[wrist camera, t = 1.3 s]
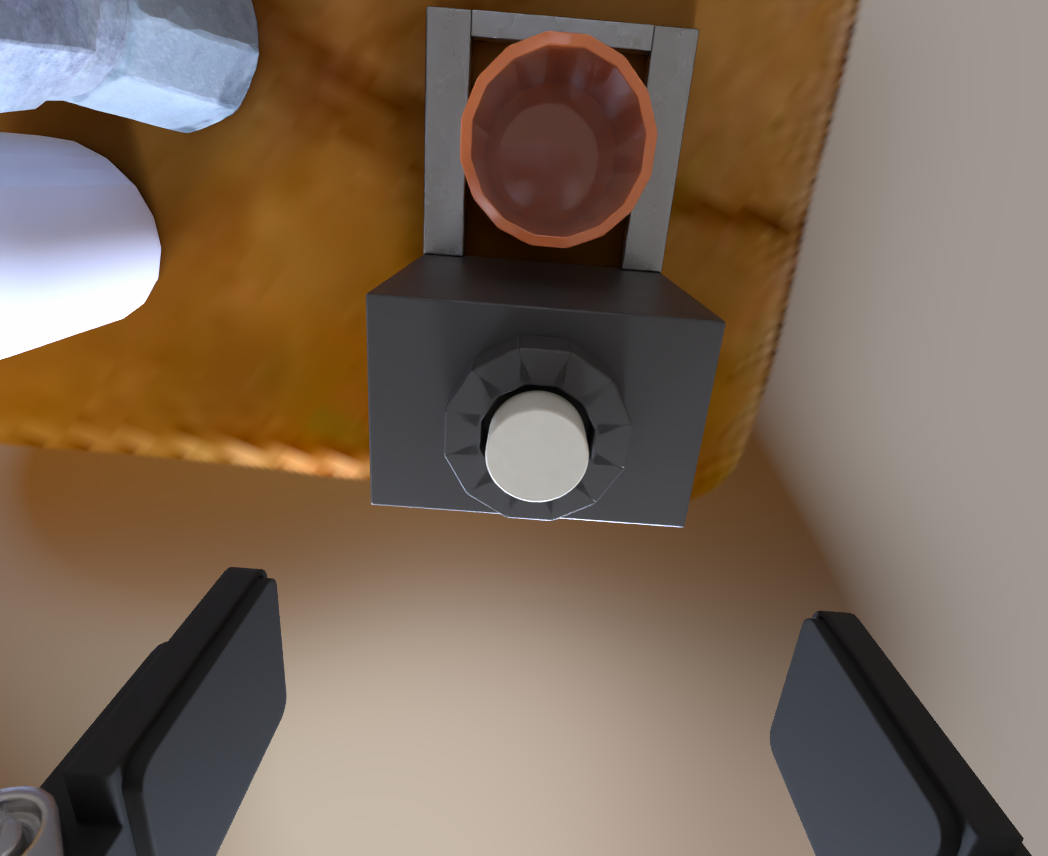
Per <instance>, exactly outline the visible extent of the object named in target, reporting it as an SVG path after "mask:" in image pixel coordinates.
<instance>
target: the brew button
mask: <svg viewBox="0 0 1048 856" xmlns="http://www.w3.org/2000/svg"><path fill="white" fill-rule="evenodd" d="M485 459H486V465H487V468H488V471H489V473H490V475H491V477H492V479H493V480H494V482H495V483H496V484H497V485H498V486H499V487H500V488H501V489H502V490H503V491H505V492H506V493H508V494H509V495H511V496H513V497H515V498H518V499H520V500H524V501H530V502H544V501H550V500H554V499H556V498H559V497H561V496H563V495H565V494H567V493H568V492H570V491H571V490H572V489H573V488H574V487H575V486H576V485H577V484H578V483H579V482H580V480H581V479H582V477H583V476H584V474H585V472H586V469H587V466H588V461H589V449H588V443H587V438H586V433H585V428H584V424H583V421H582V418H581V416H580V414H579V413H578V411H577V410H576V408H575V407H574V406H573V405H572V404H571V403H570V402H569V401H567V400H566V399H565V398H563V397H561V396H559V395H557V394H555V393H551V392H548V391H539V390H534V391H527V392H522V393H519V394H517V395H515V396H513V397H511V398H509V399H508V400H506V401H505V402H504V403H503V404H502V405H501V406H500V407H499V408H498V409H497V411H496V412H495V414H494V416H493V418H492V420H491V424H490V427H489V433H488V438H487V444H486V451H485Z"/></svg>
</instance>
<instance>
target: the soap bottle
mask: <svg viewBox="0 0 1048 856" xmlns="http://www.w3.org/2000/svg"><path fill="white" fill-rule="evenodd" d="M160 256H161V245H160V241H159V237H158V233H157V229H156V224H155V220H154V216H153V215H152V213H151V211H150V210H149V208H148V206H147V204H146V203H145V201H144V199H143V198H142V196H141V194H140V192H139V191H138V189H137V187H136V186H135V185H134V184H133V183H132V182H131V181H130V180H129V179H128V178H127V177H126V176H125V175H124V174H123V173H122V172H121V171H120V170H119V169H118V168H117V167H116V166H114V165H113V164H112V163H111V162H110V161H109V160H108V159H107V158H105V157H103V156H101V155H99V154H98V153H96V152H94V151H92V150H90V149H88V148H86V147H84V146H82V145H80V144H79V143H77V142H75V141H71V140H65V139H58V138H52V137H46V136H40V135H29V134H17V133H6V132H0V360H1V359H4V358H7V357H10V356H13V355H16V354H19V353H22V352H24V351H27V350H30V349H33V348H36V347H39V346H42V345H45V344H48V343H51V342H54V341H57V340H60V339H63V338H66V337H69V336H72V335H75V334H78V333H81V332H84V331H87V330H90V329H93V328H96V327H99V326H102V325H105V324H108V323H111V322H114V321H117V320H120V319H123V318H124V317H125V316H127V315H128V314H130V313H131V312H132V311H134V310H135V309H137V308H138V307H139V306H141V305H142V304H144V302H145V301H146V299H147V297H148V295H149V293H150V292H151V290H152V288H153V286H154V284H155V283H156V281H157V279H158V275H159V266H160Z"/></svg>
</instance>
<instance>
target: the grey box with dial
mask: <svg viewBox="0 0 1048 856" xmlns="http://www.w3.org/2000/svg"><path fill="white" fill-rule="evenodd" d="M366 317H367V359H368V401H369V443H370V485H371V504H373V505H386V506H399V507H412V508H426V509H440V510H453V511H467V512H480V513H494V514H501V515H503V516H505V517H506V516H507V517H508V518H520V519H533V520H547V521H552V520H556V519H559V518H562V519H576V520H589V521H603V522H616V523H617V522H618V523H629V524H643V525H657V526H670V527H671V526H672V527H684V525H685V519H686V514H687V510H688V505H689V500H690V495H691V490H692V485H693V480H694V475H695V471H696V466H697V461H698V456H699V451H700V446H701V441H702V436H703V431H704V426H705V421H706V417H707V412H708V407H709V402H710V397H711V392H712V387H713V382H714V377H715V372H716V367H717V362H718V358H719V353H720V348H721V343H722V338H723V333H724V328H725V321H723V320H722V319H721V318H719V317H718V316H717V315H715V314H714V313H713V312H711V311H710V310H709V309H707V308H706V307H705V306H703V305H702V304H701V303H699V302H698V301H697V300H695V299H694V298H693V297H691V296H690V295H689V294H687V293H686V292H685V291H683V290H682V289H681V288H679V287H678V286H677V285H675V284H674V283H673V282H671V281H670V280H669V279H667V278H666V277H665V276H663V275H662V274H661V273H656V272H643V271H631V270H623V269H622V268H618V267H605V266H593V265H580V264H568V263H555V262H543V261H530V260H517V259H505V258H492V257H480V256H467V255H464V256H463V257H454V256H442V255H429V254H424V255H423V256H421V257H420V258H418V259H417V260H415V261H414V262H412V263H411V264H409V265H408V266H407V267H405V268H404V269H402V270H401V271H399V272H398V273H396V274H395V275H393V276H392V277H390V278H389V279H388V280H386V281H385V282H383V283H382V284H380V285H379V286H377V287H376V288H374V289H373V290H371V291H370V292H368V293H367V294H366ZM534 390H539V391H548V392H551V393H555V394H557V395H559V396H561V397H563V398H565V399H566V400H567V401H569V402H570V403H571V404H572V405H573V406H574V407H575V408H576V410H577V411H578V413H579V414H580V416H581V418H582V421H583V424H584V428H585V433H586V438H587V443H588V449H589V461H588V466H587V469H586V472H585V474H584V476H583V477H582V479H581V480H580V482H579V483H578V484H577V485H576V486H575V487H574V488H573V489H572V490H571V491H570V492H568V493H567V494H565V495H563V496H561V497H559V498H556V499H554V500H550V501H544V502H530V501H524V500H520V499H518V498H515V497H513V496H511V495H509V494H508V493H506V492H505V491H503V490H502V489H501V488H500V487H499V486H498V485H497V484H496V483H495V482H494V480H493V479H492V477H491V475H490V473H489V471H488V468H487V465H486V459H485V451H486V444H487V438H488V433H489V427H490V424H491V420H492V418H493V416H494V414H495V412H496V411H497V409H498V408H499V407H500V406H501V405H502V404H503V403H504V402H505V401H506V400H508V399H509V398H511V397H513V396H515V395H517V394H519V393H522V392H527V391H534Z"/></svg>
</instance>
